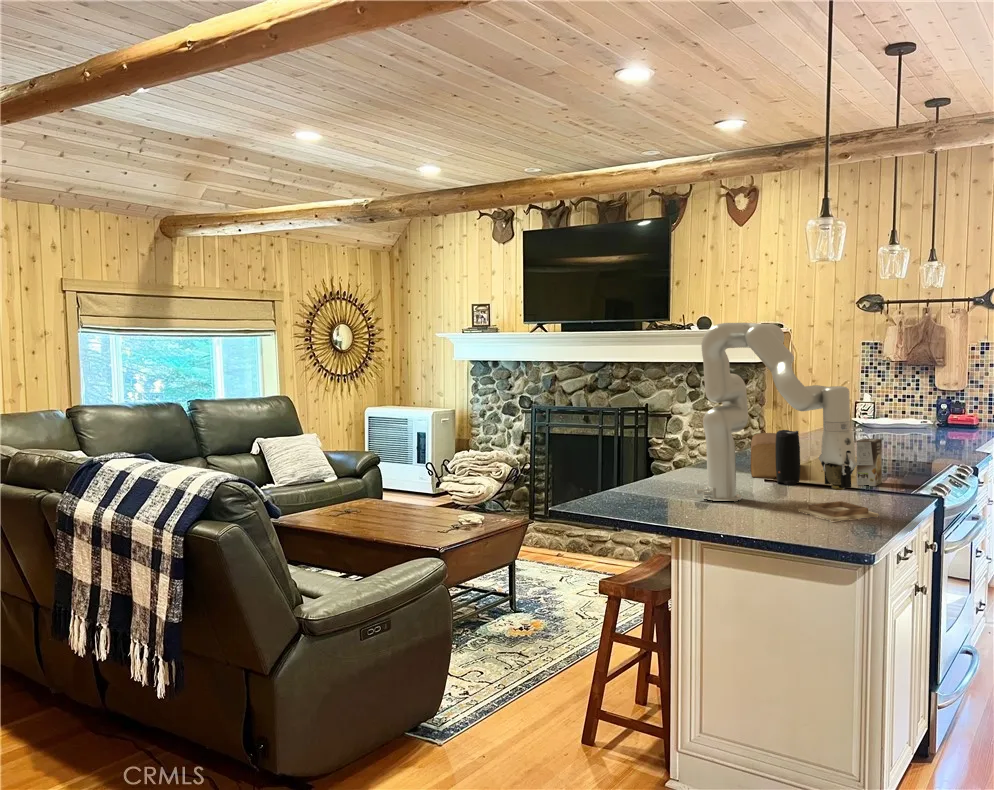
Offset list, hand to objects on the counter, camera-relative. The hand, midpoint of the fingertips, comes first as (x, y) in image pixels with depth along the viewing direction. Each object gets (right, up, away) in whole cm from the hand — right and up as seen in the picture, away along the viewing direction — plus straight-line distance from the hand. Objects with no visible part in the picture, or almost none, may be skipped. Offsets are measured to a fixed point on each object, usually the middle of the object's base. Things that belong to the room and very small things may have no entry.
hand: (837, 485), depth 246 cm
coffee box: (+31, -5, +46) cm, 56 cm away
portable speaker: (+4, -6, +54) cm, 54 cm away
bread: (+7, -4, +83) cm, 83 cm away
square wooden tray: (0, -9, +1) cm, 9 cm away
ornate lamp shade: (0, -1, 0) cm, 1 cm away
